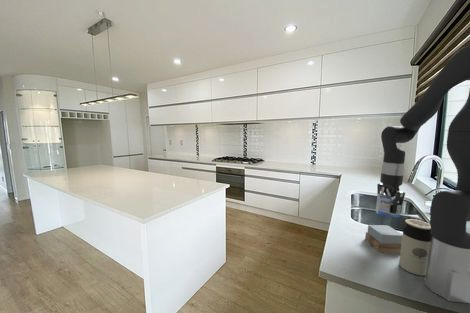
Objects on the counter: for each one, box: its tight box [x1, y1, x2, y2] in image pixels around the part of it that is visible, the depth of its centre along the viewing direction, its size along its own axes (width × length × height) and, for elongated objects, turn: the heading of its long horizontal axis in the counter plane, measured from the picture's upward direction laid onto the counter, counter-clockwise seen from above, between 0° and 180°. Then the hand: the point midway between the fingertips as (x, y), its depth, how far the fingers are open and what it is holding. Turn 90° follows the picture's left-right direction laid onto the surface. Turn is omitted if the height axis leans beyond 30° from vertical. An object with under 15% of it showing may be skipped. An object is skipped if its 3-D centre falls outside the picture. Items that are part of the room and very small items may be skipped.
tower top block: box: [367, 224, 403, 244], centre depth 87 cm, size 9×9×4 cm
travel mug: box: [398, 218, 432, 276], centre depth 72 cm, size 8×8×18 cm
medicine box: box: [375, 193, 402, 219], centre depth 85 cm, size 8×4×9 cm, turn 63°
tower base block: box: [364, 231, 401, 254], centre depth 87 cm, size 10×10×4 cm
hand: (387, 210), depth 86 cm, fingers closed on medicine box, 5 cm apart
